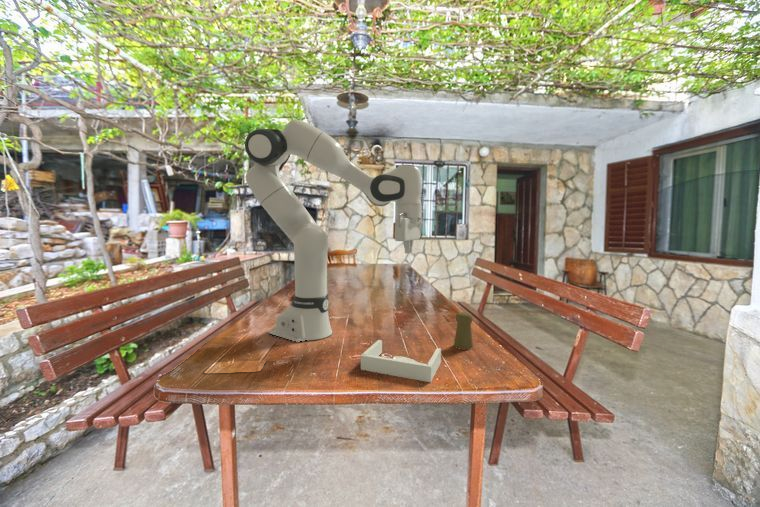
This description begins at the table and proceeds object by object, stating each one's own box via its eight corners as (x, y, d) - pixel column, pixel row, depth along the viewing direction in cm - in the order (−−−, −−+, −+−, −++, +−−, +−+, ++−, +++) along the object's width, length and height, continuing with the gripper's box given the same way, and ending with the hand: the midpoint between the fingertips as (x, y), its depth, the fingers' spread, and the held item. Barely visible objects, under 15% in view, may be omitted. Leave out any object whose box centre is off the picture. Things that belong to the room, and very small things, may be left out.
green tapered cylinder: (473, 350, 101) (474, 316, 100) (454, 349, 102) (454, 314, 101) (472, 343, 107) (473, 310, 106) (453, 342, 108) (454, 309, 107)
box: (360, 369, 88) (360, 355, 87) (378, 352, 100) (378, 339, 99) (430, 382, 81) (431, 366, 80) (440, 362, 93) (441, 348, 92)
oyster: (406, 378, 82) (406, 368, 82) (382, 364, 92) (382, 355, 92) (430, 373, 86) (431, 363, 86) (405, 360, 96) (405, 351, 96)
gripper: (408, 212, 101) (408, 256, 102) (424, 214, 120) (424, 251, 121) (389, 212, 103) (389, 255, 105) (408, 214, 122) (407, 250, 124)
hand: (408, 253), depth 113 cm, fingers closed
